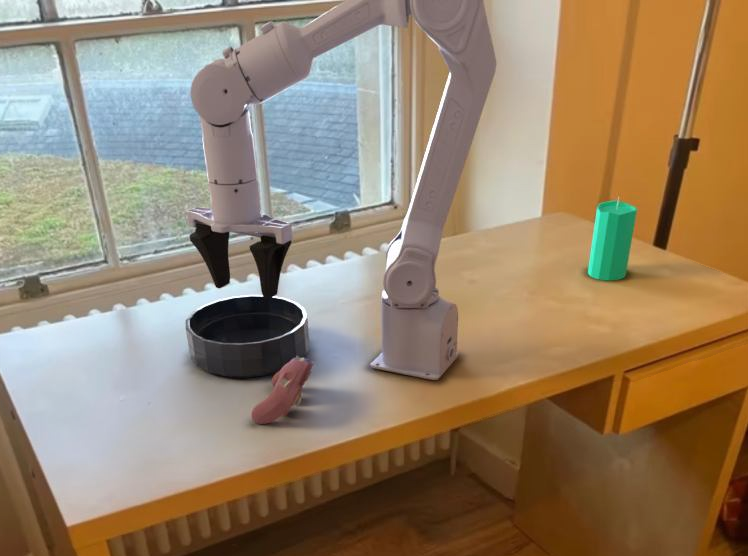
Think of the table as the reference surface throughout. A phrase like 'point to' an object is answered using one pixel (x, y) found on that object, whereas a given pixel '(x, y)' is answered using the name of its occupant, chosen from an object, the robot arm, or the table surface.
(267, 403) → the pink curved piece
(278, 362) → the dark round bowl
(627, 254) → the candle
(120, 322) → the table surface
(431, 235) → the robot arm
